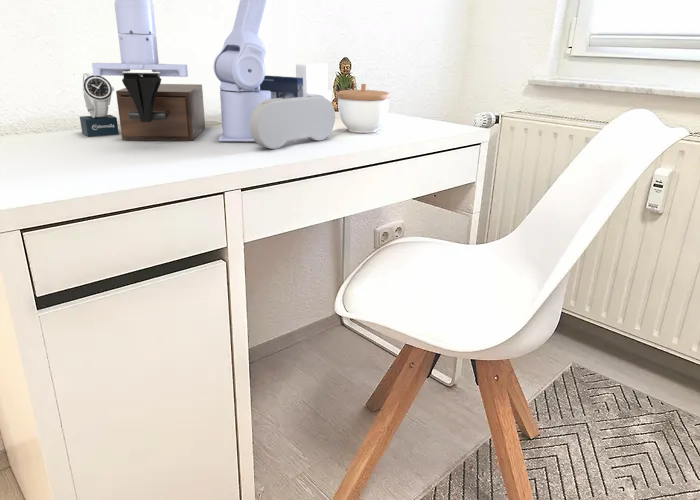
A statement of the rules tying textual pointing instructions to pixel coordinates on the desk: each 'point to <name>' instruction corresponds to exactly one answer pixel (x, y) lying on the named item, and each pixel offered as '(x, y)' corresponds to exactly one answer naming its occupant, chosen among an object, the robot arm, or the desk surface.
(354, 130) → the trinket box
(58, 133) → the desk surface
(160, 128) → the drawer
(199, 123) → the cabinet
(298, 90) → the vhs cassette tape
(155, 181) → the desk surface
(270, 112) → the game controller
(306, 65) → the base with upright slab
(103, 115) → the watch
